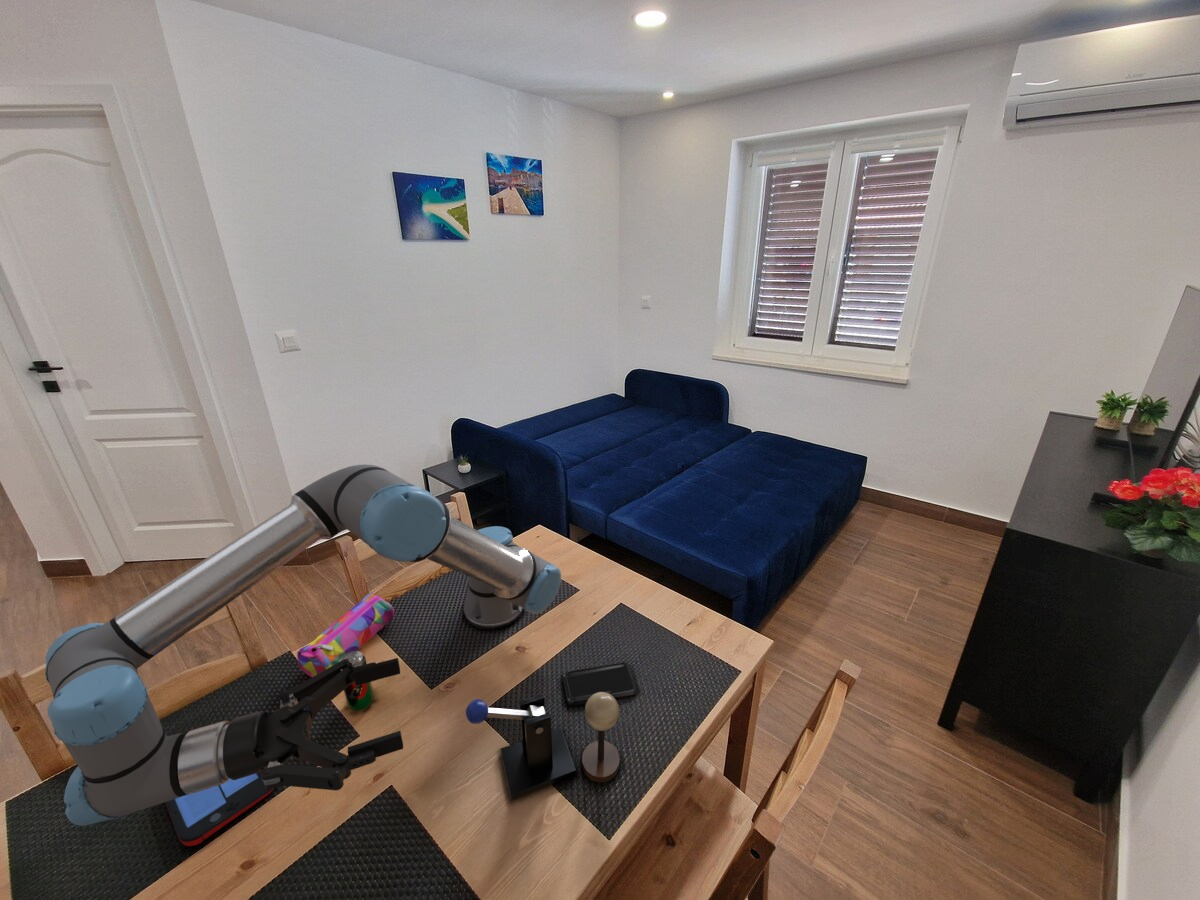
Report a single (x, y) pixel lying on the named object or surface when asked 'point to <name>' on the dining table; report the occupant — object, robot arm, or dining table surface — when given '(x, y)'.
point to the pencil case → (345, 635)
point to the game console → (214, 807)
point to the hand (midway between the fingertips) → (400, 699)
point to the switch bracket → (536, 754)
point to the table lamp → (601, 738)
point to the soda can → (359, 694)
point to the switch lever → (499, 712)
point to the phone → (598, 682)
